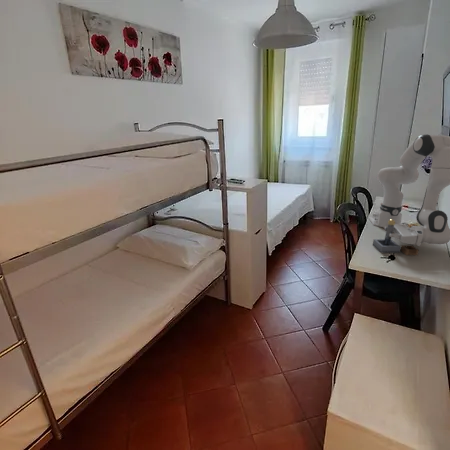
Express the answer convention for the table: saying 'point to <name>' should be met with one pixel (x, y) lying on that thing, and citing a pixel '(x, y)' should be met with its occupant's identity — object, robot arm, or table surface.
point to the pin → (389, 230)
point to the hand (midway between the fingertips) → (387, 231)
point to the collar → (409, 250)
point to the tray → (386, 249)
